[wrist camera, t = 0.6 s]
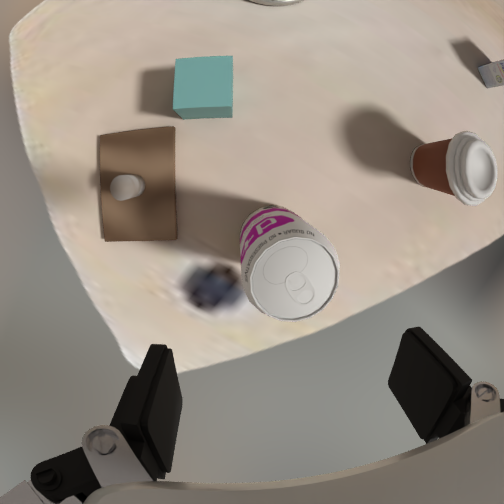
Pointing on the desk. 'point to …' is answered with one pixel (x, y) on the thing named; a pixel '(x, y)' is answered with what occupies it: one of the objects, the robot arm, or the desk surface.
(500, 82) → the medicine box
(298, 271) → the supplement can
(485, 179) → the coffee cup
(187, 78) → the teal cube
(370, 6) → the desk surface
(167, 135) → the post board
